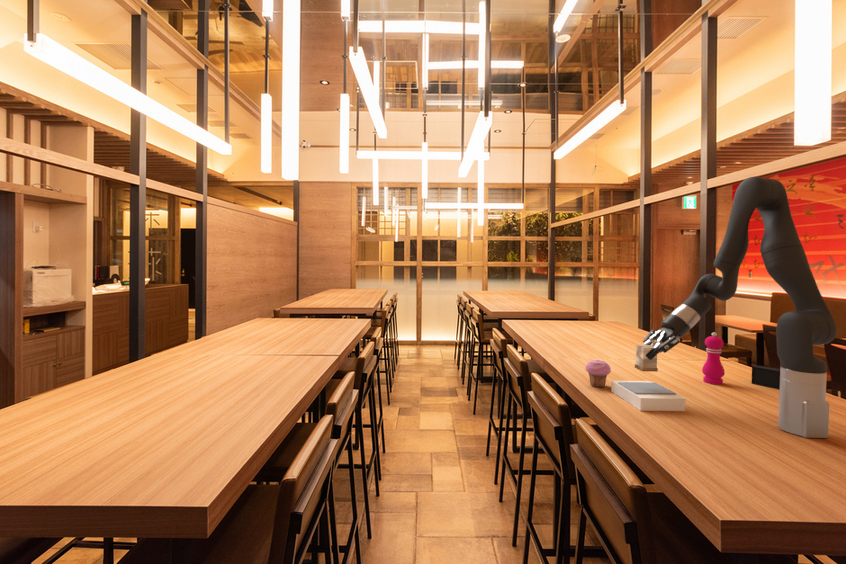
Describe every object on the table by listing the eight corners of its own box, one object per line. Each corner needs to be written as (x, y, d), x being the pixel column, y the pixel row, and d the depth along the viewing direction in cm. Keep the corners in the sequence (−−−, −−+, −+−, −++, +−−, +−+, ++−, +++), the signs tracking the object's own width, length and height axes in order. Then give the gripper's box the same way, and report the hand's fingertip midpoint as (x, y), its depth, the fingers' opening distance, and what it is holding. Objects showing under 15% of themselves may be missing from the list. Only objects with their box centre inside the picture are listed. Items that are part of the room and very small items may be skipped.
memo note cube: (657, 371, 132) (658, 347, 132) (642, 371, 132) (643, 347, 132) (649, 367, 137) (649, 344, 137) (634, 367, 137) (635, 344, 137)
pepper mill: (723, 381, 158) (724, 331, 158) (725, 386, 152) (726, 334, 152) (701, 379, 162) (702, 330, 162) (702, 383, 156) (703, 332, 156)
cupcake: (585, 387, 149) (586, 361, 149) (584, 381, 158) (584, 356, 157) (611, 390, 146) (612, 363, 146) (609, 383, 155) (609, 358, 154)
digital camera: (791, 388, 150) (792, 370, 149) (785, 390, 147) (785, 372, 147) (757, 382, 159) (758, 364, 158) (751, 383, 156) (751, 366, 156)
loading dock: (685, 411, 125) (685, 397, 125) (640, 410, 125) (640, 396, 125) (649, 391, 145) (650, 379, 145) (611, 391, 145) (611, 379, 145)
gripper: (660, 310, 141) (625, 344, 142) (686, 315, 127) (647, 353, 127) (675, 325, 141) (640, 359, 142) (702, 332, 127) (663, 369, 128)
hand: (643, 355), depth 135 cm, fingers closed on memo note cube, 4 cm apart
